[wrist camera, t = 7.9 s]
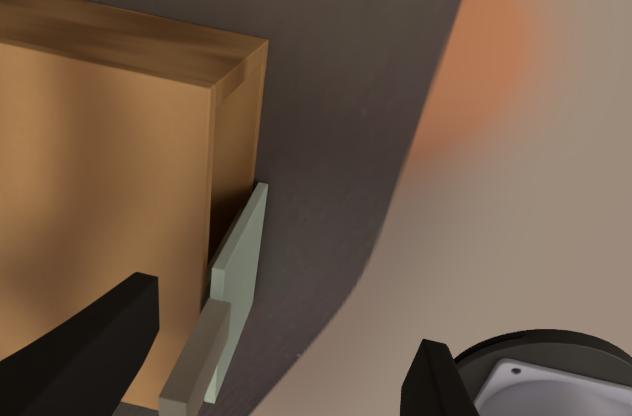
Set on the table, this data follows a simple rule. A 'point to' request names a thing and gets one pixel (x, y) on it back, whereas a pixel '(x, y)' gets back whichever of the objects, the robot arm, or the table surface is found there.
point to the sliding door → (218, 317)
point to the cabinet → (119, 164)
